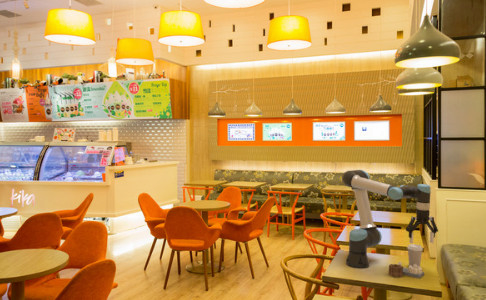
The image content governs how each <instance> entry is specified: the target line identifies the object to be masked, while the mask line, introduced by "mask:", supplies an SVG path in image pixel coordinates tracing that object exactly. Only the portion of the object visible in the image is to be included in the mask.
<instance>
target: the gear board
mask: <svg viewBox="0 0 486 300" xmlns="http://www.w3.org/2000/svg"><path fill="white" fill-rule="evenodd" d="M397 265H401V266H402V262H401V261H398V262H397ZM403 276H406V277H410V278H414V279H422V277H424V276H425V271H423V268H422V267H421V266H420V267H419V266H417V264H413V266H411V265H410V266H409V265H407V267H403Z"/></svg>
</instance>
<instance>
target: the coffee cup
mask: <svg viewBox="0 0 486 300" xmlns="http://www.w3.org/2000/svg"><path fill="white" fill-rule="evenodd" d="M407 253H408V266H410V265H411V266H413V264H417V266H419V267H420V268H421V261H422V255H423V254H422V253H423V247H422V245H419V244H414V243H410V244H408V245H407Z"/></svg>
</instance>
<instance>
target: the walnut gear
mask: <svg viewBox="0 0 486 300" xmlns="http://www.w3.org/2000/svg"><path fill="white" fill-rule="evenodd" d="M388 275H389V276H390V277H391V278H393V277H394V278H402V277H404V275H403V265H402V264H401V265H398V263H395V264H394V263H393V264H392V263H391V264H390V265H388Z"/></svg>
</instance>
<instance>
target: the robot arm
mask: <svg viewBox="0 0 486 300" xmlns="http://www.w3.org/2000/svg"><path fill="white" fill-rule="evenodd" d="M341 181H342V184H343V185H344V186H345V187H348V188H351V191H353V192H354V196H355V203H356V208H357V212H358V217H359V218H358V219H359V222H360V227H359V228H354V229H351V230H350V231H349V234H348V239H349V240H348V243H349V244H348V254H347V256H346V259H345V264H346V266H348V267H350V268H354V269H355V268H357V269H366V268H369V267H370V261H369V258H368V255H367V253H368V252H367V251H368V248H371V247H375V246H378V245H379V244H380V243H381V241H382V239H383V238H382V232H381V231H380V230H379V229H378V226H377V225H376V224H375V222H374V219H373V214H372V210H371V205H370V200H369V195H368V192H372V193H375V194H378V195H382V196H386V197H389V198H390V199H391V200H395V201H397V200H401V199H415V200H416V210H415V211H416V212H415V214H416V216H413V215H412V216H411V218H410V220H409V223H408V224H407V227H406V228H405V231H406V232H408V238H409V243H410V244H414V231H415V230H416V229H417V227H418V226H420V225H426V226H427V227H428V229H429V230H430V233H429V243H431V244H434V240H435V239H434V238H436V234H437V232H439V229H438V226H437V224H436V223H435V217H434V216H430V214H431V213H430V212H431V211H430V207H431V193H432V192H431V190H432V189H431V185H430V184H425V183H424V184H423V183H418V184H417V186H415V185H412V186H411V185H407V184H405V185H404V184H402V185H400V186H397V185H396V186H395V185H392V184H389V183H384V182H381V181H376V180H373V179H371V178H370V175H369V173H368V172H367V171H365V170H363V169H354V170H352V169H351V170H346V171H345V172H344V173H343V174H342V177H341Z"/></svg>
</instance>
